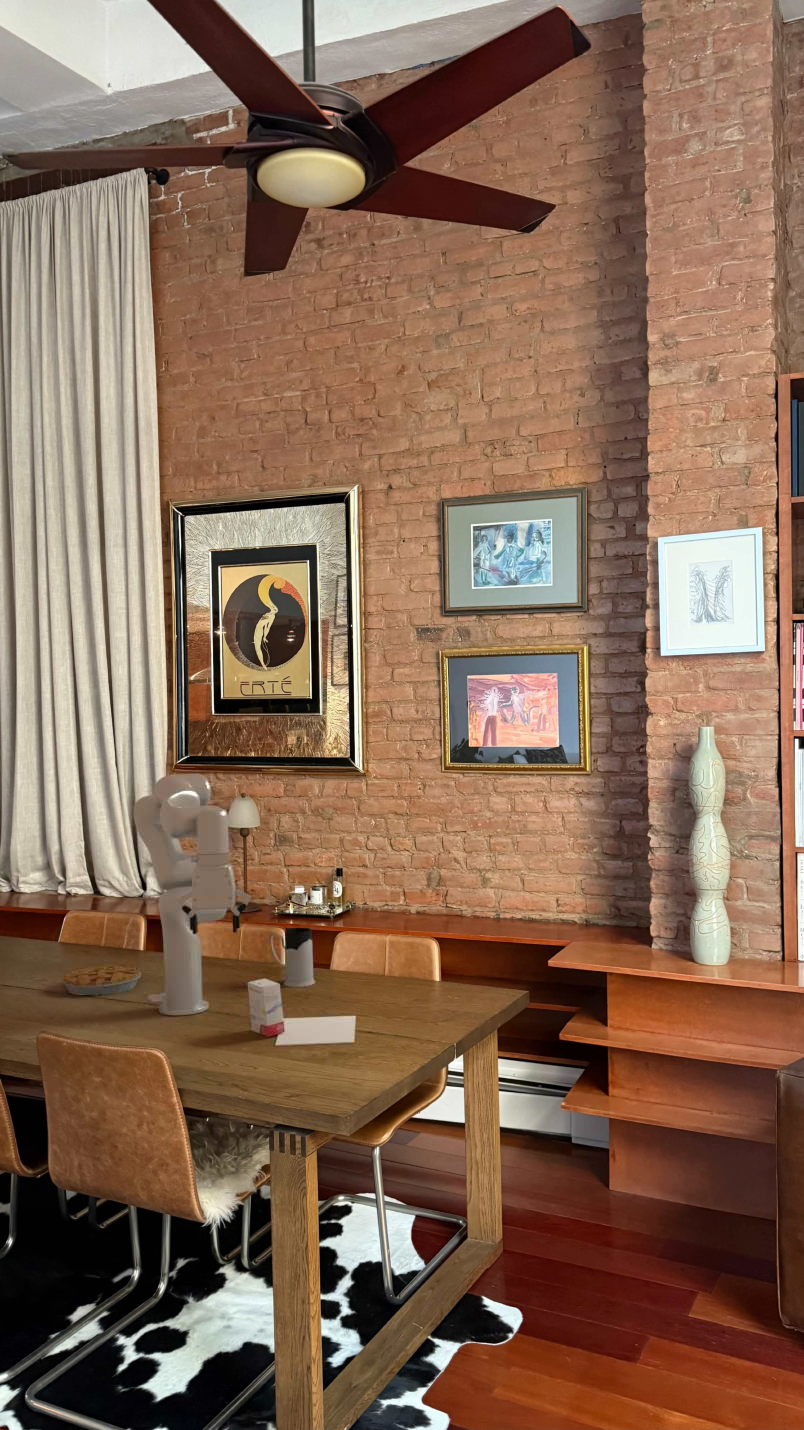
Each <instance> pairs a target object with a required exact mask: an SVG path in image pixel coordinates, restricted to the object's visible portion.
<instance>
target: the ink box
mask: <svg viewBox="0 0 804 1430" xmlns="http://www.w3.org/2000/svg"><path fill="white" fill-rule="evenodd" d="M247 990H248V992H247V993H248V1001H249V1013H250V1022H251V1023H250V1024H251V1031H252V1032H255V1033H257V1034H260V1035H262V1036H265V1037H268V1038H269V1037H272V1036H276V1035H278V1034H279V1033H282V1032H285V1029H284V1020H283V1018H284V1013H283V1006H282V1004H283V1003H282V995H281V983H278V982H276V981H272V980H270V979H267V978H261V979H257V980H252V981H248V982H247Z"/></svg>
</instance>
